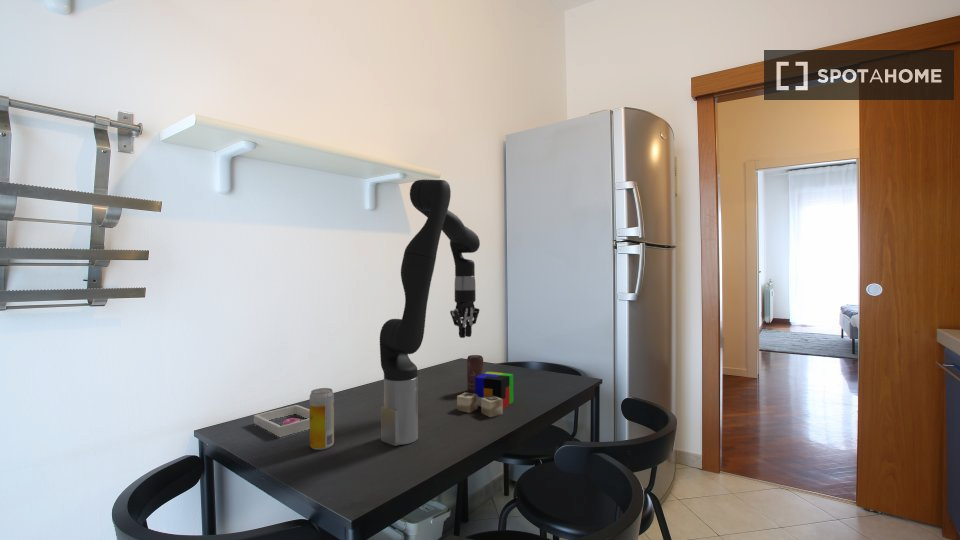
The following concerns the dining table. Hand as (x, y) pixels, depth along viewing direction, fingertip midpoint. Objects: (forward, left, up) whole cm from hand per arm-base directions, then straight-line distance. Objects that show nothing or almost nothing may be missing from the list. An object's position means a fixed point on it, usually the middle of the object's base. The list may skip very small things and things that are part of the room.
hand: (465, 336), depth 158 cm
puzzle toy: (+4, -10, -23) cm, 26 cm away
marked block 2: (-5, -16, -23) cm, 29 cm away
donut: (-52, +22, -24) cm, 61 cm away
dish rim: (-53, +24, -23) cm, 63 cm away
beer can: (-55, +2, -23) cm, 60 cm away
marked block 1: (-7, -7, -23) cm, 25 cm away
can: (+11, +5, -23) cm, 26 cm away
